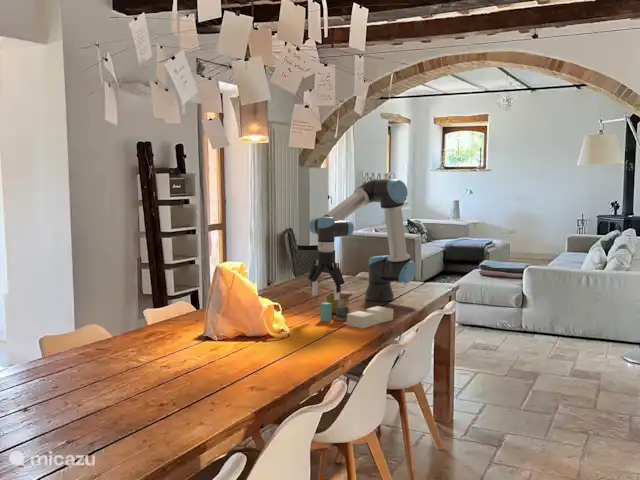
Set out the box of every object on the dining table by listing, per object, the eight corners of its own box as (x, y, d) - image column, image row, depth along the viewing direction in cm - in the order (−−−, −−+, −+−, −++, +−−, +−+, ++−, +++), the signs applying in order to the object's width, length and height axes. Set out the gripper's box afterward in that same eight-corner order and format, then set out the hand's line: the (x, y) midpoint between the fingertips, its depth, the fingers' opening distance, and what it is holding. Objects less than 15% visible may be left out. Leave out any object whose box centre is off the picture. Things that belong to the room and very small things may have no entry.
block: (325, 319, 288) (325, 302, 287) (331, 320, 285) (331, 303, 284) (320, 320, 285) (320, 303, 284) (326, 321, 283) (326, 304, 282)
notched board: (377, 316, 293) (377, 306, 292) (393, 319, 287) (393, 308, 286) (346, 325, 277) (346, 314, 276) (362, 328, 271) (362, 317, 270)
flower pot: (325, 313, 300) (325, 294, 299) (333, 309, 308) (333, 291, 307) (342, 315, 296) (342, 296, 295) (350, 311, 303) (350, 293, 302)
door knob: (341, 315, 295) (341, 290, 294) (356, 318, 289) (356, 292, 288) (328, 318, 289) (328, 293, 287) (343, 321, 283) (343, 295, 281)
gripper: (300, 249, 287) (300, 294, 290) (341, 254, 271) (340, 302, 273) (311, 248, 293) (311, 292, 295) (352, 252, 276) (352, 300, 278)
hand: (325, 297), depth 284 cm, fingers open, 13 cm apart
